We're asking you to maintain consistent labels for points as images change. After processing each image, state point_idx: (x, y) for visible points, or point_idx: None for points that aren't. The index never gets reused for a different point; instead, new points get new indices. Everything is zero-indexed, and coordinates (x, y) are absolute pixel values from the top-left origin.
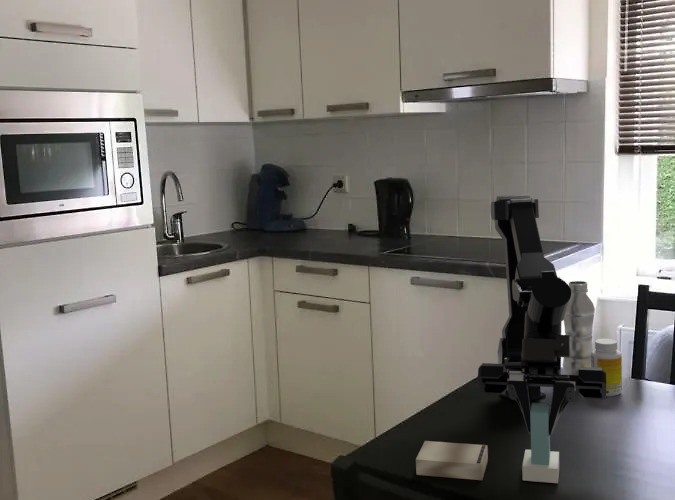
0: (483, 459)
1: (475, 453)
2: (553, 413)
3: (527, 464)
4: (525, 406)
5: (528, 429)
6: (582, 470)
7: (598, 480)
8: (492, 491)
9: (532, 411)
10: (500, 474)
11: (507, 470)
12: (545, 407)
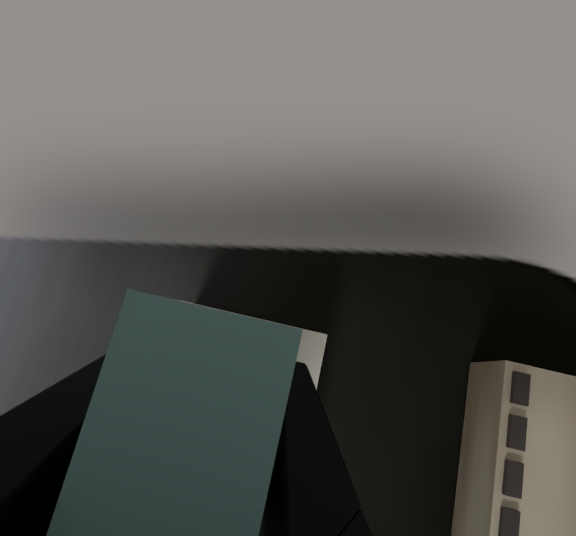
0: (496, 427)
1: (540, 489)
2: (56, 409)
3: (302, 351)
4: (330, 524)
5: (304, 368)
6: None
7: (24, 348)
8: (432, 275)
9: (275, 355)
10: (398, 415)
11: (367, 454)
12: (105, 472)
